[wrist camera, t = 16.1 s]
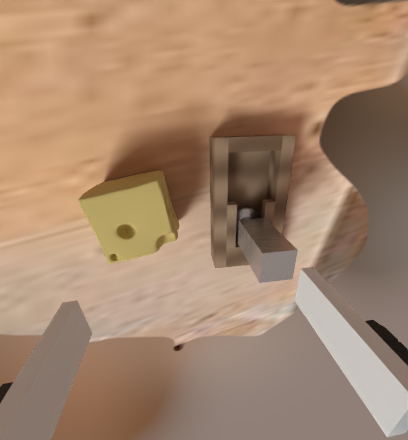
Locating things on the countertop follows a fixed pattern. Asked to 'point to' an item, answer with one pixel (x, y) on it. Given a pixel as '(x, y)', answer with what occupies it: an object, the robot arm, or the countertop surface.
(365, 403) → the robot arm
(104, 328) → the countertop surface
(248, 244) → the peg
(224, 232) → the keyhole plate
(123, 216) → the cheese
